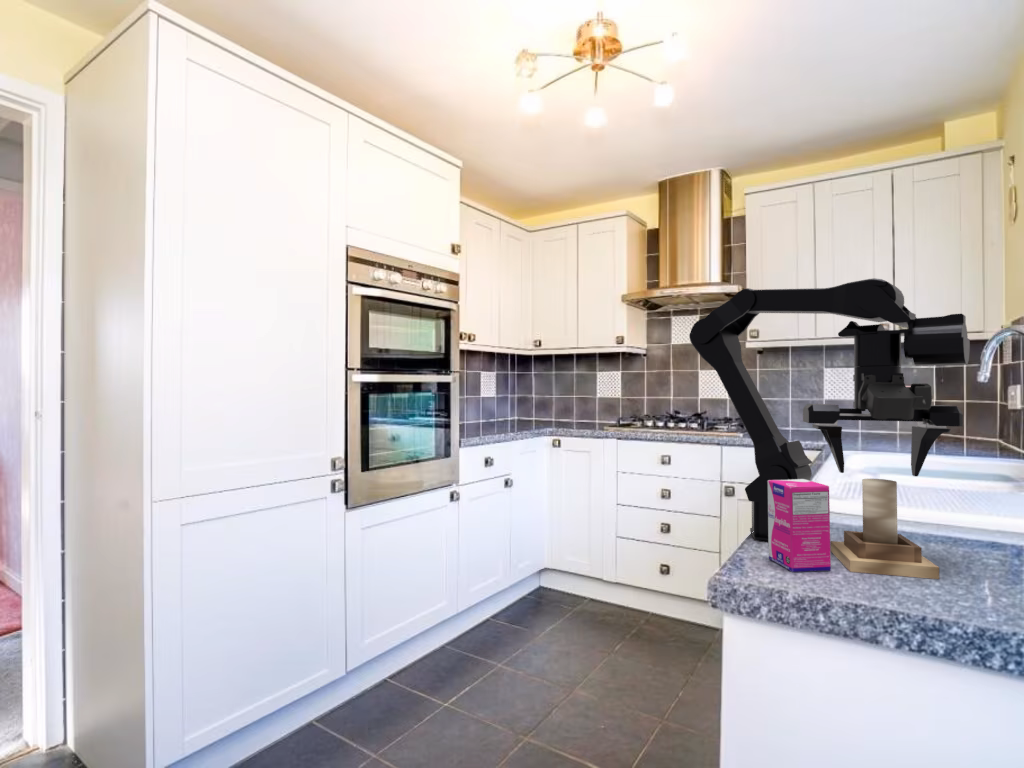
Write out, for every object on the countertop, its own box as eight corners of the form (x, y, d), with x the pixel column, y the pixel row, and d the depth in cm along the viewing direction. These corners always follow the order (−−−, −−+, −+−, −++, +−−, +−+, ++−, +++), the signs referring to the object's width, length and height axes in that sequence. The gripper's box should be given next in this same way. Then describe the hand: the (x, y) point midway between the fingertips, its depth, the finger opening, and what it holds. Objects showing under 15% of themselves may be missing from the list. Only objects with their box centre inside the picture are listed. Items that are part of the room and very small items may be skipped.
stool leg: (868, 555, 75) (867, 482, 76) (859, 548, 79) (858, 478, 79) (902, 558, 74) (901, 483, 74) (891, 550, 78) (890, 479, 78)
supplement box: (766, 559, 79) (766, 478, 79) (806, 558, 79) (805, 478, 80) (790, 572, 73) (789, 485, 73) (832, 571, 74) (832, 485, 74)
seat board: (850, 571, 73) (849, 545, 74) (830, 551, 83) (830, 527, 83) (939, 579, 70) (938, 551, 71) (908, 557, 80) (908, 532, 80)
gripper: (815, 365, 76) (816, 478, 76) (981, 363, 70) (982, 487, 70) (802, 368, 87) (802, 468, 86) (945, 367, 80) (945, 474, 80)
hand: (877, 474), depth 80 cm, fingers open, 9 cm apart
